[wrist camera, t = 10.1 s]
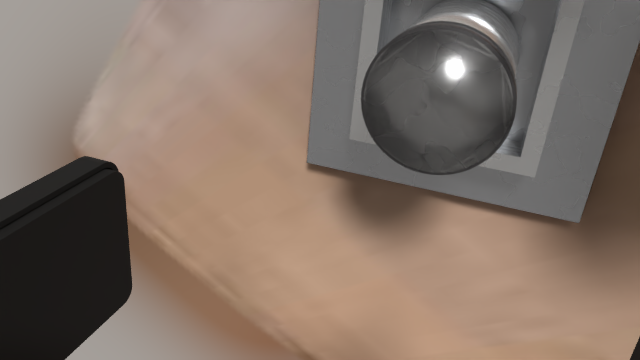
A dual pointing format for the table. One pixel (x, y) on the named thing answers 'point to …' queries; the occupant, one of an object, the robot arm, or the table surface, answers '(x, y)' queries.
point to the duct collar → (532, 98)
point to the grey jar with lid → (444, 88)
